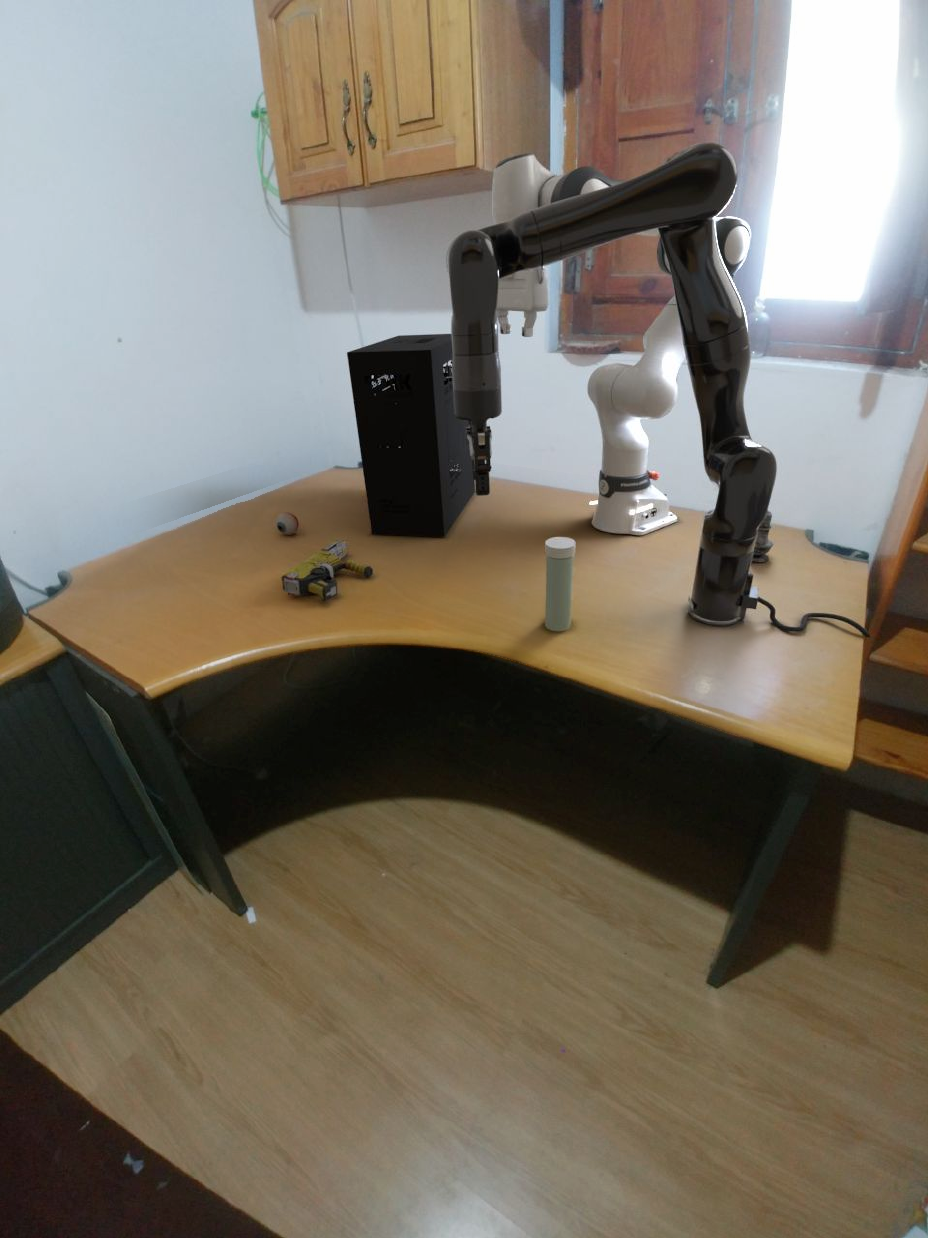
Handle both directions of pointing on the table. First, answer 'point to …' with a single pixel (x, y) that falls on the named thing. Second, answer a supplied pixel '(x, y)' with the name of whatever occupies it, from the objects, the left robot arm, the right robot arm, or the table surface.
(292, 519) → the eyeball
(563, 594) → the jar
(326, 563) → the toy gun
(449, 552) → the table surface
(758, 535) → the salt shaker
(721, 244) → the left robot arm
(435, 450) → the black boxy piece
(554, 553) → the lid
